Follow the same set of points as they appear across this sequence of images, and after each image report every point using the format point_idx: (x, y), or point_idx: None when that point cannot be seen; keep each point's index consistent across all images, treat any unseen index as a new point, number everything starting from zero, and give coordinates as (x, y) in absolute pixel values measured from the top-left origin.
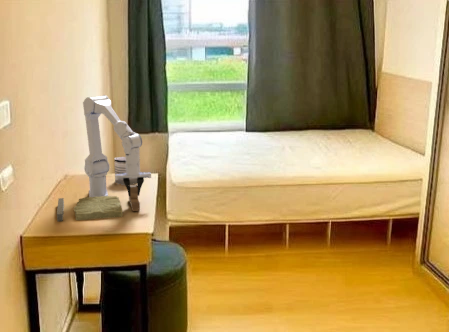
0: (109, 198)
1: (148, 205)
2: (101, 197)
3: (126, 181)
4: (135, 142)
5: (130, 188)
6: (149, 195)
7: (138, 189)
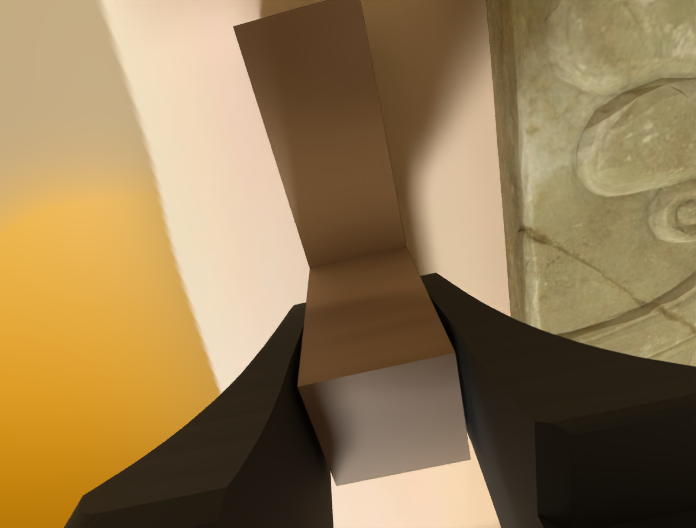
0: (645, 318)
1: (218, 275)
2: None
3: (680, 431)
4: None
5: (444, 339)
6: None
7: (286, 352)
